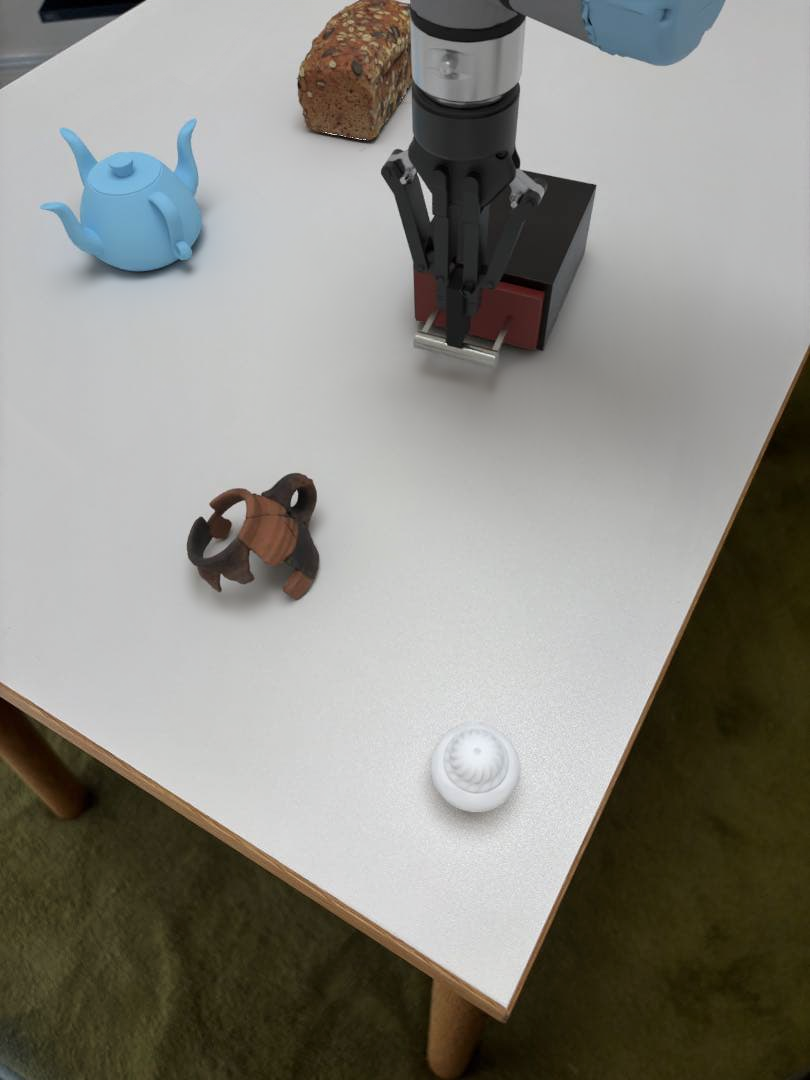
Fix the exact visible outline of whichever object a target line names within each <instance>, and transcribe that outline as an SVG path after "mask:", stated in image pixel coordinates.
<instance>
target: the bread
mask: <svg viewBox="0 0 810 1080" xmlns="http://www.w3.org/2000/svg"><path fill="white" fill-rule="evenodd" d="M296 80H297V83H296V85H297V97H298V103H299V105H300V106H301V108H302V116H303V119H304V123H305V125H306V128H309V129H311V130H313V131H315V132H317V131H319V132H324V133H325V132H327V133H332V134H337V135H343V136H346V137H349V138H350V137H351V138H352V137H353V138H359V139H362V140H363V139H366V140H370V141H371V140H373V139H374V138H377V137H378V136H379V133H380V132H381V128H383V126H384V125H385V124H386V123H387V122H388V121H389V119H390V118H391V117H392V116H393V114H394V112H395V110H396V109H397V108H398V106H399V105H400V103H401V102H402V101H401V99H402V97H403V96H404V95H405V96H406V95H407V93H406V91H407V92H408V90H407V88H408V87H409V86H410V85H411V86H412V84H413V82H414V80H413V77H412V74H411V33H410V2H409V3H406V2H402V1H398V0H357V1H355V2H353V3H352V4H349V5H346V6H344V7H343V9H341V10H339V11H338V12H336V13H335V14H334V15H333V16H332V17H331V18H330V19H329V20H328V21H327V23H326V24H325V26H324V28H323V29H322V30H321V32H320V33H318V36H315V37H314V38H313V39H312V41H311V48H310V49H309V52H307V53H306V54H305V57H304V59H303V60H302V61H301V63H300V66H299V70H298V76H297V77H296ZM411 86H410V87H411ZM410 87H409V88H410ZM409 88H408V89H409ZM405 93H406V94H405ZM405 96H404V97H405ZM404 97H403V99H404ZM403 99H402V100H403ZM400 101H401V102H400ZM398 104H399V105H398ZM397 105H398V106H397ZM396 107H397V108H396ZM395 108H396V109H395ZM393 111H394V112H393ZM390 116H391V117H390ZM389 117H390V118H389ZM387 120H388V121H387ZM386 121H387V122H386ZM385 122H386V123H385ZM384 123H385V124H384ZM319 132H318V133H319ZM377 135H378V136H377Z"/></svg>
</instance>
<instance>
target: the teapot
mask: <svg viewBox="0 0 810 1080" xmlns="http://www.w3.org/2000/svg"><path fill="white" fill-rule="evenodd" d="M197 122H198V121H197V119H196V118H191V119H190V120H188V121H187V122H186V123H184V125H183V126H182V127H181V128H180V130H179V132H178V135H177V139H176V148H177V150H176V151H177V163H176V167H175V169H174V170H172V169H171V168H170V167H169V166H167V165H166V164H165V163H163V162H162V161H160V160H159V159H158V158H156V157H155V156H153V155H151V154H149V153H145V152H140V151H119V152H115V153H113V154H111V155H109V156H107V157H105V158H103V159H101V160H100V161H97V158H95V157H94V155H93V154H92V152H91V151H90V150H89V149H88V147H87V146H86V144H85V142H83V140H82V139H81V138H80V136H79V135H78V134H77V133H75V131H73V130H71V129H69V128H67V127H60V128H59V130H58V131H59V134H60V135H61V137H62V138H63V140H65V142H66V143H67V144H68V146H69V148H70V149H71V151H72V154H73V156H74V158H75V162H76V166H77V170H78V173H79V178H80V180H81V183H82V185H83V189H82V194H81V199H80V204H79V206H80V207H79V219H78V217H77V216H76V215H75V213H74V211H73V210H72V209H71V207H70V206H68V205H67V204H65V203H63V202H61V201H51V202H46V203H43V204H41V205H40V206H39V208H40V209H41V210H44V211H48V212H51V213H54V214H55V215H56V216H57V217H58V218H59V219H60V221H61V222H62V226H63V227H64V230H65V232H66V234H67V237H68V239H69V240H70V241H71V242H72V244H73V245H74V246H75V247H77V249H78V250H80V251H82V252H84V253H86V254H89V255H94V256H95V257H96V258H97V259H99V260H100V261H102V262H103V263H106V264H107V265H110V266H112V267H115V268H117V269H120V270H123V271H128V272H149V271H154V270H155V271H156V270H158V269H162V268H164V267H167V266H170V265H172V264H174V263H175V262H177V261H178V260H181V261H186V260H187V261H188V260H189V259H191V258H192V256H193V250H192V247H193V245H194V244H195V242H196V240H197V239H198V237H199V235H200V232H201V229H202V224H203V216H202V212H201V210H200V207H199V204H198V202H197V200H196V197H195V195H196V193H197V191H198V187H199V182H200V181H199V179H200V176H199V171H198V167H197V163H196V160H195V157H194V153H193V148H192V136H193V132H194V130H195V127H196V125H197Z"/></svg>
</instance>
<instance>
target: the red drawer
mask: <svg viewBox="0 0 810 1080" xmlns="http://www.w3.org/2000/svg"><path fill="white" fill-rule="evenodd" d="M455 271H456V269H455ZM414 279H415V306H414V313H415V312H416V318H415V322H420V323H424V326H423V328H422V330H417V331H416V333H415V334H414V337H413V341H412V342H413V343H412V345H413V348H415V349H419V350H423V351H426V352H429V353H434V354H438V355H441V356H442V355H443V356H446V357H449V358H453V359H456V360H461V361H464V362H468V363H472V364H477V365H479V366H480V365H481V366H484V367H487V368H491V369H495V368H496V367H497V365H498V362H499V359H500V350H501V348H502V347H503V344H507V345H511V346H515V347H519V348H523V349H527V350H532V351H535V350H537V349H536V346H537V344H538V339H539V332H540V325H541V318H542V311H543V303H544V296H545V292H544V291H542V289H538V288H533V287H529V286H525V285H520V284H516V283H512V282H508V281H503V280H500V282H499V284H498V286H497V288H496V289H495V290H489V289H487V288H486V287H483V294H482V304H481V306H480V308H479V310H478V312H477V314H476V315H475V317H472V316H471V328H470V330H469V332H468V334H467V335H471V336H476V337H479V338H484V339H486V340H487V339H488V340H490V341H494V344H493V346H492V348H488V347H484V346H480V345H476V344H473V343H468V342H465V341H464V342H463V344H462V346H461V347H457V346H454V345H450V344H446V336H441V335H437V334H433V333H431V331H432V329H433V327H434V326H436V327H440V328H444V329H446V310H443V309H439V308H438V306H437V304H436V295H437V294H436V280H435V278H434V277H433V276H432V275H431V274H429V273H425V274H421V273H419V272H417V271H416V269H414V274H413V280H414Z"/></svg>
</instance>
